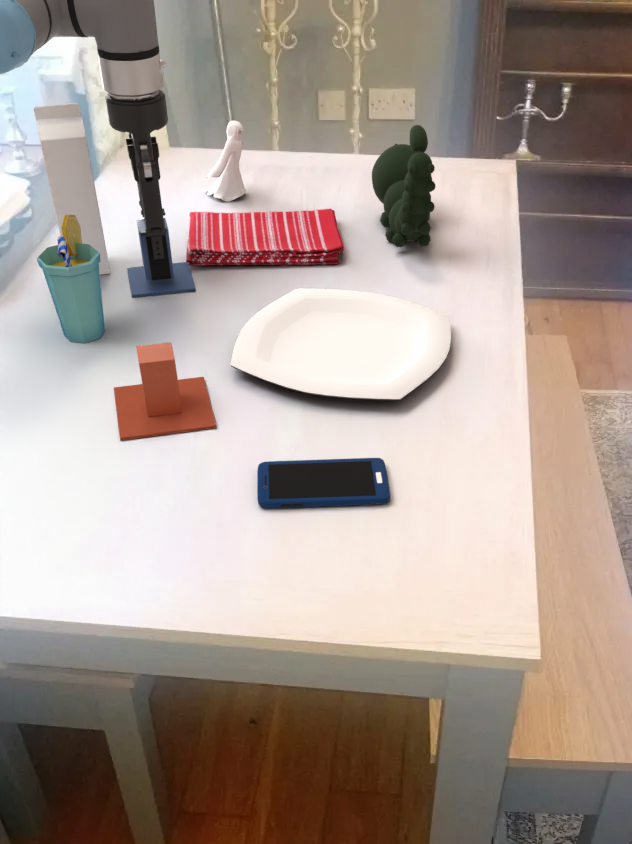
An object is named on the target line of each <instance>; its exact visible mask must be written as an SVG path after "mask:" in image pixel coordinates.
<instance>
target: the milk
mask: <svg viewBox="0 0 632 844" xmlns="http://www.w3.org/2000/svg"><path fill="white" fill-rule="evenodd" d="M33 113H34V117H35V123H36V128H37V131H38V132H37V133H38V138H39V142H40V147H41V152H42V157H43V160H44V161H43V162H44V166H45V171H46V176H47V180H48V185H49V189H50V190H49V191H50V194H51V199H52V203H53V207H54V212H55V217H56V221H57V227H58V231H59V236H63V234H62V224H63V220H64V215H75V216H76V219H77V221H78V223H79V225H80V229H81V238H82V244H89V245H91V246H92V247H93V248H94V249H95V250H97V251H98V252H99V253H100V262H99V273H100V276H101V275H107V274H111V268H110V267H111V266H110V262H109V256H108V250H107V246H106V240H105V234H104V228H103V222H102V219H101V211H100V207H99V200H98V195H97V190H96V185H95V184H96V183H95V179H94V173H93V168H92V167H93V166H92V163H91V156H90V151H89V145H88V141H87V134H86V131H85V125H84V121H83V115H82V110H81V105H80V104H79V103H77V102H76V103H63V104H52V105H40V106H38V105H37V106H34V108H33Z"/></svg>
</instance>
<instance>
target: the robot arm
mask: <svg viewBox="0 0 632 844" xmlns="http://www.w3.org/2000/svg"><path fill="white" fill-rule="evenodd" d="M157 26H158V25H157V17H156V6H155V0H0V75H2V74H6V73H7V74H8V73H9V72H11V71H13V70H15V69H17V68H20V67H22V66H24V64H26V63H27V62H28V61H29V60H30V58H31V56H33V55H34V54H35V52H37V51H38V50H39V49H41V48H42V47H43V46H44V45H46V44H47V43H48V42H50V41H52V39H53V38H94V40H95V44H96V50H97V59H98V60H97V61H98V65H99V72H100V79H101V84H102V89H103V91H105V92H106V93H107V94H106V95H105V98H104V100H105V106H106V112H107V118H108V123H109V125H110V127H111V128H112V129H113V130H115V131H116V132H119V133H128V138H125V144H126V150H127V153H128V158H129V160H130V166H131V170H132V174H133V178H134V181H135V182H136V186H137V191H138V197H139V198H138V200H139V201H138V204H139V207H140V209H141V210H140V216H142V219H141V220H145V227H146V229H145V231H141V237H143V236H146V242H147V249H148V256H149V263H150V269H151V276H152V280H162V279H171V272H170V265H169V257H168V249H167V242H166V228H165V226H164V218H165V217H164V216H166V212H165V211H166V210H165V208H164V207H163V206H162V205H163V203H162V197H161V196H162V195H161V189H160V181H159V180H160V179H161V169H160V163H159V158H160V149H159V143H158V142H157V137H156V136H151V133H152V132H154V131H160V130H161V129H163V128H165V127H166V125H167V124H168V123H169V115H168V108H167V100H166V99H167V98H166V94H165V93H164V91H163V90H162V89H163V87H164V78H163V77H164V76H163V71H162V70H163V69H165V68H167V62H166V60H165V59H164V58H162V59H161V54H160V44H159V35H158V27H157ZM161 69H162V70H161Z"/></svg>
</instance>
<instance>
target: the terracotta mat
mask: <svg viewBox="0 0 632 844" xmlns="http://www.w3.org/2000/svg"><path fill="white" fill-rule="evenodd" d="M206 383H207V382H206V380H205V377H204V376H197V377H190V378H189V377H188V378H182V379H178V385H179V393H180V400H181V407H182V413H176V414H168V415H160V416H152V417H148V415H147V409H146V403H145V397H144V391H143V385H142V383H140V384H139V383H138V384H130V385H122V386H114V387H113V393H114V401H115V410H116V418H117V425H118V433H119V439H120V440H119V441H128V440H135V439H137V440H138V439H143V438H150V437H158V436H159V437H160V436H166V435H174V434H182V433H190V432H197V431H205V430H212V429H213V430H214V429H217V427H218V426H217V422H216V418H215V415H214V410H213V407H212V403H211V400H210V399H211V398H210V394H209V391H208V388H207V384H206Z"/></svg>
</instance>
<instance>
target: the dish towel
mask: <svg viewBox="0 0 632 844" xmlns="http://www.w3.org/2000/svg"><path fill="white" fill-rule="evenodd" d="M344 251H345V246H344V240H343V237H342V235H341V232H340V230H339V227H338V221H337V217H336V212H335V210H334V209H332V208H324V209H314V210H289V211H288V210H287V211H285V210H282V211H281V210H280V211H277V210H276V211H272V210H271V211H268V210H267V211H249V212H239V211H237V212H214V211H190V212H189V229H188V236H187V245H186V255H185V256H186V259H185V262H186V263H187V264H188V265H189V266H225V265H227V266H243V265H245V266H247V265H249V266H252V265H253V266H257V265H262V266H263V265H264V266H268V265H269V266H277V265H278V266H280V265H289V266H290V265H291V266H292V265H301V266H302V265H306V266H308V265H323V266H324V265H339V264H340V257H339V256H340V254H342V253H344Z"/></svg>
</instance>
